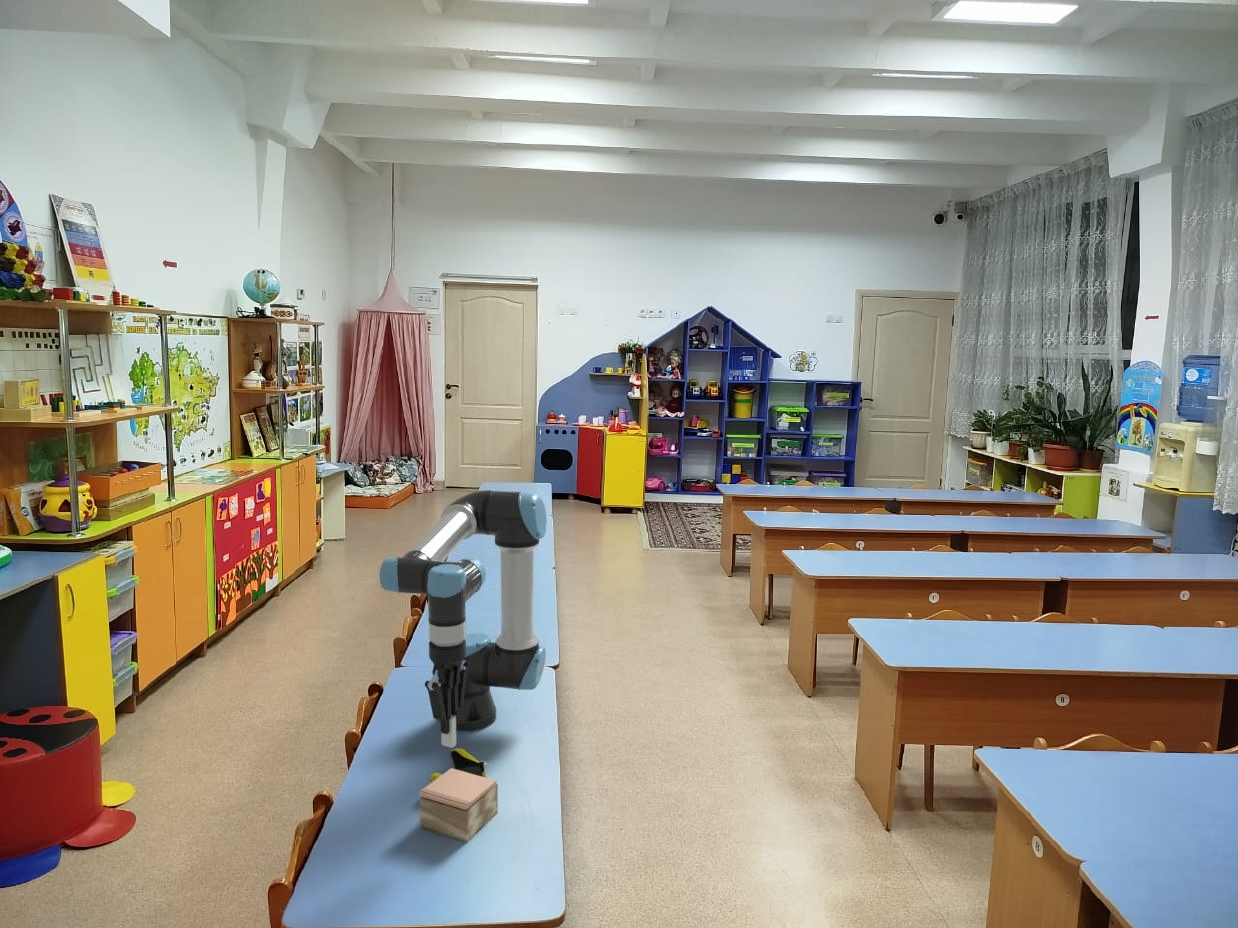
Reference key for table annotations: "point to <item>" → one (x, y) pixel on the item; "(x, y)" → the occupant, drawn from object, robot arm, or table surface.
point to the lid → (457, 788)
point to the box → (458, 816)
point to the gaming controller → (464, 764)
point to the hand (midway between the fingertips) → (448, 744)
